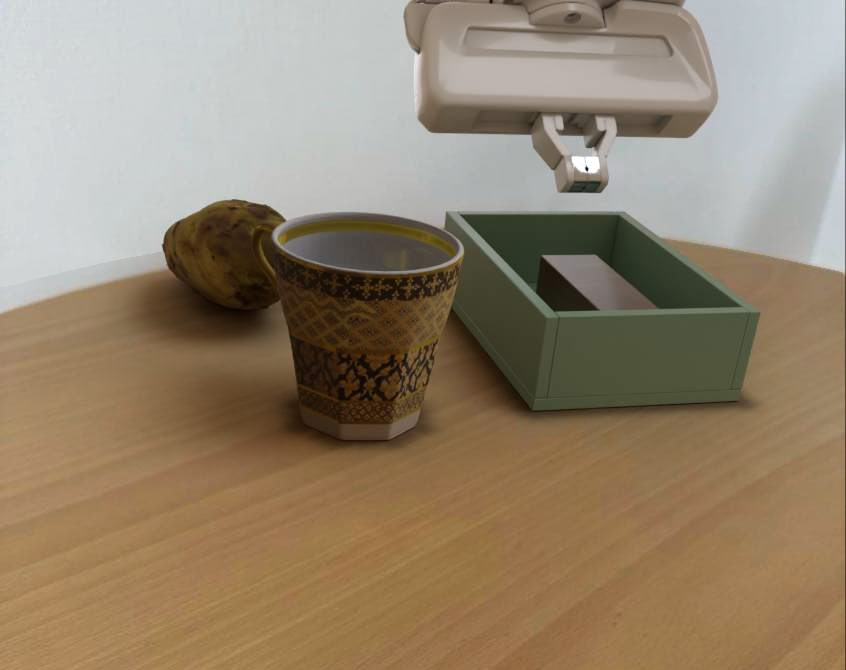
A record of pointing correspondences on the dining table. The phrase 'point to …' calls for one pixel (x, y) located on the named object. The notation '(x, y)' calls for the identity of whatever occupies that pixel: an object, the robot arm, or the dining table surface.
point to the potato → (223, 253)
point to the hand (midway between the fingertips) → (583, 188)
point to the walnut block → (585, 285)
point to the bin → (599, 314)
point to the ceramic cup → (361, 314)
